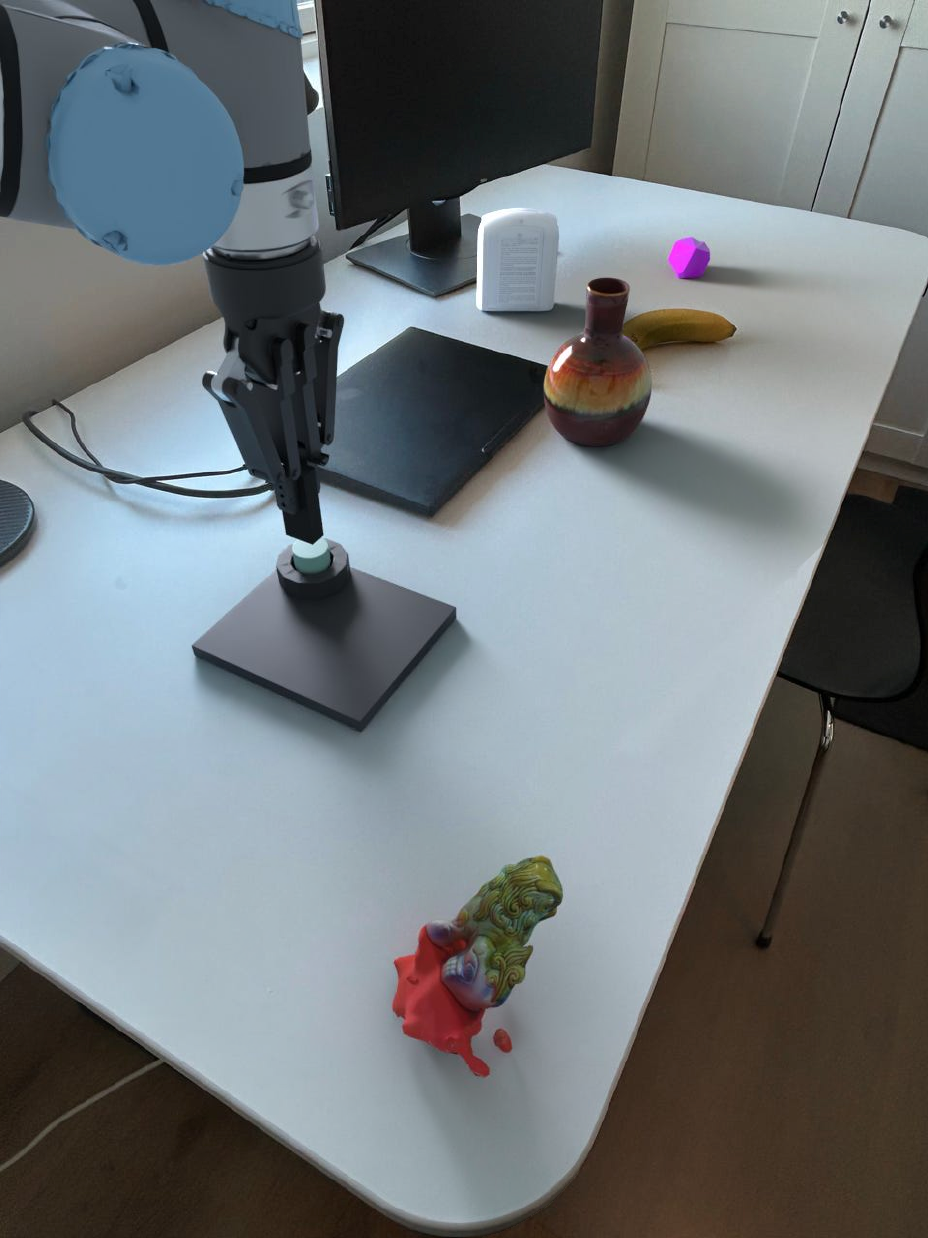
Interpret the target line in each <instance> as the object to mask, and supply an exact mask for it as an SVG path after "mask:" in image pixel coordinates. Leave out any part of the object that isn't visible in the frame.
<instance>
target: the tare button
mask: <svg viewBox="0 0 928 1238" xmlns="http://www.w3.org/2000/svg"><path fill="white" fill-rule="evenodd" d="M325 539H326V538H325ZM325 539H323V537H321V538H320V539H319V540H318V541H317V542H316V543H314V544H313V545H312V544H309V543H306V542H304V541H301V540H298V539H297V540H296V541H295V542H293V543H294V545H293V547H292V552H293V558H294V564H295V567H296V569H297V570H298V571H299V572H301V573H304V574H316V573H319V572H322V571H324V570H326V569H327V568H328V567H329V565H330V563H331V560H330V553H329V546H328V543H327V541H326V540H325Z"/></svg>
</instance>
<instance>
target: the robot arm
mask: <svg viewBox="0 0 928 1238" xmlns="http://www.w3.org/2000/svg"><path fill="white" fill-rule="evenodd" d="M303 34H304V33H303V28H302V27H301V22H300V16H299V8H298V2H297V0H0V218H6V219H10V220H15V221H20V222H24V223H25V222H27V223H31V224H38V225H45V226H50V227H58V228H65V229H71V230H76V231H78V233H80V235H82V236H83V237H84V238H85V239H86V240H88V241H89V242H91V243H93V244H94V245H96V246H98V247H101V248H104V249H106V250H107V251H109V252H111V253H113V254H115V255H117V256H118V257H120V258H122V259H124V260H126V261H129V262H133V263H137V264H140V265H147V266H148V265H149V266H170V265H177V264H181V263H184V262H187V261H189V260H191V259H194V258H196V257H198V256H200V255H202V259H203V264H204V270H205V275H206V280H207V285H208V290H209V296H210V299H211V301H212V303H213V304H214V306H215V307H216V308H217V310H218V312H219V313H220V314H221V316H222V318H223V321H224V333H223V339H222V345H223V349H224V352H225V353H226V355H225V357H224V359H223V360H222V363H221V365H220V366H219V368H218V370H217V372H215V371H212V370H208V371H206V372H204V374H203V376H202V378H201V385H202V387H203V389H205V390H206V391H207V392H208V393H209V395H211V397H213V398H214V399H215V400H216V401H217V403H218V405H219V408H220V410H221V412H222V414H223V416H224V418H225V421H226V423H227V425H228V429H229V430H230V433H231V435H232V436H233V440H234V442H235V444H236V446H237V448H238V451H239V453H240V455H241V458H242V460H243V462H244V465H245V467H246V469H247V471H248V474H249V475H250V476H252V477H255V478H257V479H259V480H263V481H266V482H268V483H271V484H273V485H272V486H273V491H274V495H275V496H274V497H275V503H276V507H277V508H278V510H279V511H281V512H282V519H283V527H284V532H285V535H286V536H288V537H291V538H292V539H293V538H294V539H296V540H297V541H298V540H301V541H304V542H306V543H309V544H312V545H313V544H314V543H316V542H317V541H318V540H319V539H320V538H323V536H325V533H324V527H323V519H322V512H321V511H322V510H321V505H320V504H321V503H320V497H319V494H320V492H321V481H320V480H321V478H320V472H319V466H320V467H325V466H327V464H328V463H329V461H330V454H328V453H324V452H322V448H323V447H324V446H330V445H331V444H332V443H333V442H334V439H335V423H336V422H335V421H336V405H337V403H336V402H337V383H338V382H337V381H338V359H339V346H340V341H341V337H342V333H343V330H344V326H345V317H344V315H343V314H342V313H339V312H335V311H330V310H327V309H323V308H322V307H321V303H320V302H321V301H322V300H323V299H324V298H325V295H326V291H327V283H326V274H325V266H324V265H325V264H324V255H323V247H322V242H321V240H320V239H319V237H317V235H316V233H317V231H318V230H319V227H320V224H319V215H318V208H317V206H318V205H317V198H316V190H315V189H316V188H315V180H314V171H313V153H312V148H311V147H312V146H311V141H310V130H309V119H308V118H309V117H308V107H307V95H306V83H305V72H304V71H305V70H304V60H303V48H302V47H303V46H302V39H303V38H304V35H303ZM319 424H320V426H319Z"/></svg>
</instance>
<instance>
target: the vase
mask: <svg viewBox="0 0 928 1238" xmlns="http://www.w3.org/2000/svg"><path fill="white" fill-rule="evenodd" d="M630 291H631V286H630V284H629V283H628V282H626V281H625V280H622V279H620V278H617V277H599V278H593V279H592V280H590V281H588V282H587V284H586V293H585V321H584V323H585V324H584V331H583V332H580V333H578V334H576V335H574V336H573V337H571V338H569V339H568V340H567V341H565V342H564V343H563V344H562V345H561V346H560V347H559V348H558V349H557V350H556V351H555V353H554V355H553V356H552V358H551V359H550V361H549V363H548V365H547V368H546V370H545V371H546V372H545V375H544V380H543V400H544V406H545V410H546V414H547V416H548V419H549V421H550V423H551V425H552V427H553V428H554V429H555V430H556V432H557V433H559V434H560V435H561V436H562V437H564V438H565V439H566V440H568V441H570V442H572V443H575V444H577V445H581V446H588V447H605V446H606V447H607V446H612V445H615V444H617V443H619V442H621V441H623V440H625V439H627V438H628V437H629V436H630V435H632V434H633V433H634V432H635V430H636V429H637V428H638V427H639V426H640V424H641V422H642V421H643V419H644V417H645V415H646V412H647V410H648V407H649V404H650V401H651V397H652V389H653V381H652V379H653V378H652V373H651V368H650V364H649V362H648V359H647V358H646V356H645V354H644V352H643V351H642V349H640V347H639V346H638V345H637V344H636V343H635V342H634V341H633V340H631V339H630V338H628V337H627V336H625V335H623V331H624V323H625V317H626V312H627V307H628V301H629V297H630Z"/></svg>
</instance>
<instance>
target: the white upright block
mask: <svg viewBox="0 0 928 1238" xmlns="http://www.w3.org/2000/svg"><path fill="white" fill-rule="evenodd" d="M481 216H482V217H481V222H480V224H479V227H478V232H477V263H476V264H477V267H476V268H477V269H476V270H477V272H476V307H477V309H479V311H482V312H483V311H485V312H546V311H551V310H552V309H553V308H554V305H555V304H554V303H555V295H556V293H555V292H556V280H557V268H558V258H559V257H558V256H559V241H560V230H559V225H558V218H557V216H556V215H555V214H552V213H551V212H547V211H544V210H540V209H535V208H529V207H527V208H526V207H513V208H511V207H510V208H506V209H504V208H503V209H499V210H495V211H492V212H489V213H486V214H484V215H481Z"/></svg>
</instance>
